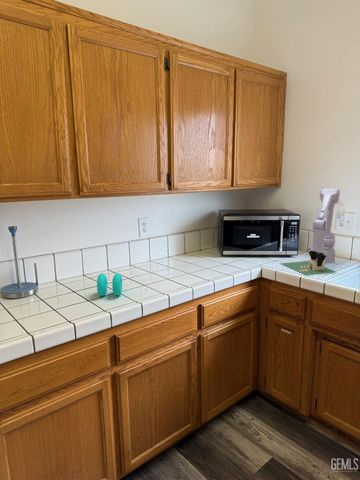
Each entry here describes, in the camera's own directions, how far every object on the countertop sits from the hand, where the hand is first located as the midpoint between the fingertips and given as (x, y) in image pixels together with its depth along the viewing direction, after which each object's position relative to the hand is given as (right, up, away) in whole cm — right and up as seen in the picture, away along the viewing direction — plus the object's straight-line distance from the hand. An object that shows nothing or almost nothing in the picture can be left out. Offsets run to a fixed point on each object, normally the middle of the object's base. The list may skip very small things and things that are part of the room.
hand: (316, 265), depth 186 cm
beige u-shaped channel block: (0, -2, 0) cm, 2 cm away
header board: (-4, -2, +3) cm, 6 cm away
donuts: (-107, -11, -36) cm, 113 cm away
